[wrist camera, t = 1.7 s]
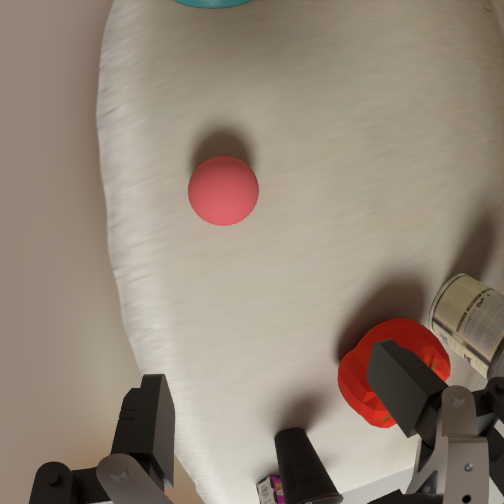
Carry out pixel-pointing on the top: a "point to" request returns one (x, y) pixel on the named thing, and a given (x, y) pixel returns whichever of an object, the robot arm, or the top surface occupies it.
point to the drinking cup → (303, 471)
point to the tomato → (357, 361)
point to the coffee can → (471, 323)
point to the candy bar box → (270, 490)
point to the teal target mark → (212, 3)
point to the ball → (223, 190)
